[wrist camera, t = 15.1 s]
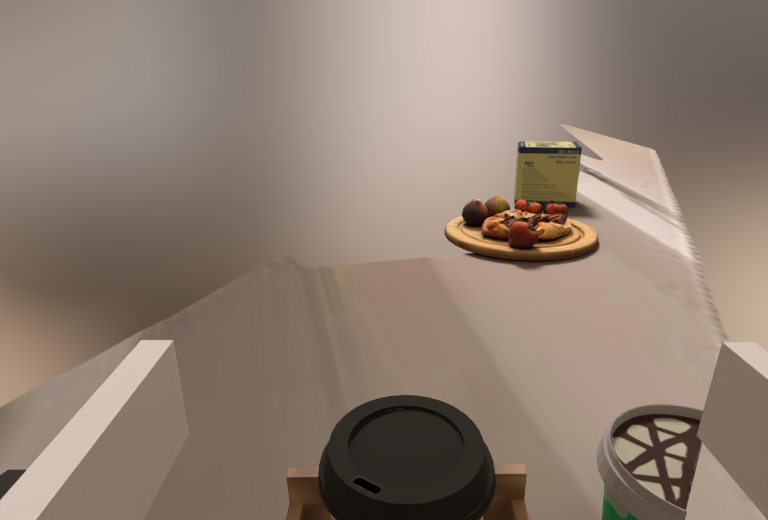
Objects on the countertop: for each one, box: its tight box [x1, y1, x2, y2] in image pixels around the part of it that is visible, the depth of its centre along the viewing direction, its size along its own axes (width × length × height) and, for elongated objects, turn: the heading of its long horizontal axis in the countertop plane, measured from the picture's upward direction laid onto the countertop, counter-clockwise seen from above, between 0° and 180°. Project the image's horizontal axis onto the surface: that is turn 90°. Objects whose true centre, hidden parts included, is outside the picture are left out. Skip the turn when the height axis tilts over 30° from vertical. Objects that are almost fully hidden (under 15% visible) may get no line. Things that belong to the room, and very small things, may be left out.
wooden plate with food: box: [445, 195, 598, 261], centre depth 109 cm, size 32×32×8 cm
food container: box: [597, 404, 704, 520], centre depth 37 cm, size 12×6×10 cm, turn 143°
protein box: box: [514, 142, 582, 207], centre depth 135 cm, size 10×16×16 cm
